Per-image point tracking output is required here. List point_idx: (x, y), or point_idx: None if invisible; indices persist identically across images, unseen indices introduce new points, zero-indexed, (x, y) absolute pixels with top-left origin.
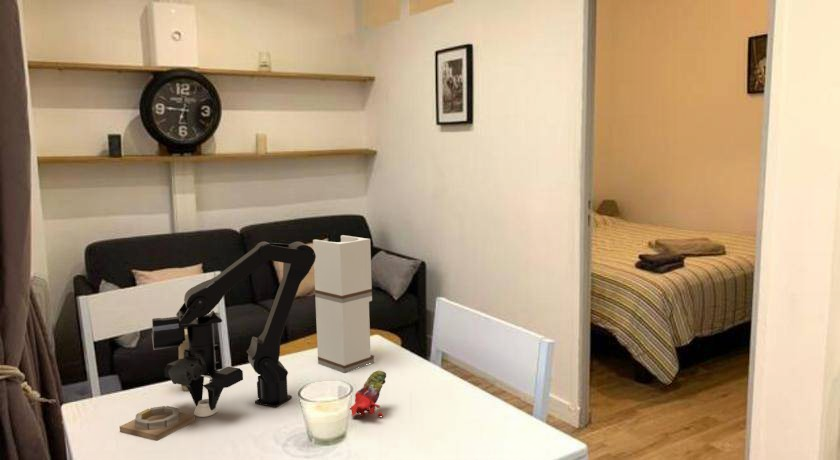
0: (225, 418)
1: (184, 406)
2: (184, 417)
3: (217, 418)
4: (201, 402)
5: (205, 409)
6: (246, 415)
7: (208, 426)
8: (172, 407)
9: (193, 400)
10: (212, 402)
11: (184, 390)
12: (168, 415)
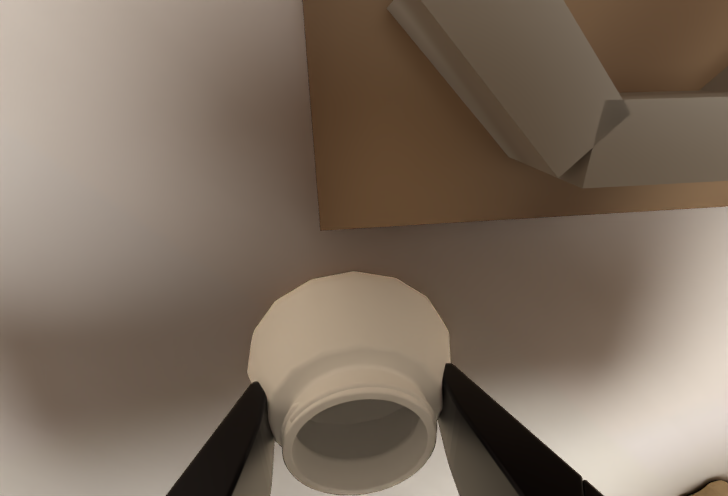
0: (103, 357)
1: (605, 355)
2: (389, 126)
3: (167, 328)
4: (419, 425)
5: (283, 356)
6: (14, 456)
7: (50, 161)
8: (672, 165)
9: (504, 410)
10: (192, 469)
11: (723, 482)
12: (631, 84)
